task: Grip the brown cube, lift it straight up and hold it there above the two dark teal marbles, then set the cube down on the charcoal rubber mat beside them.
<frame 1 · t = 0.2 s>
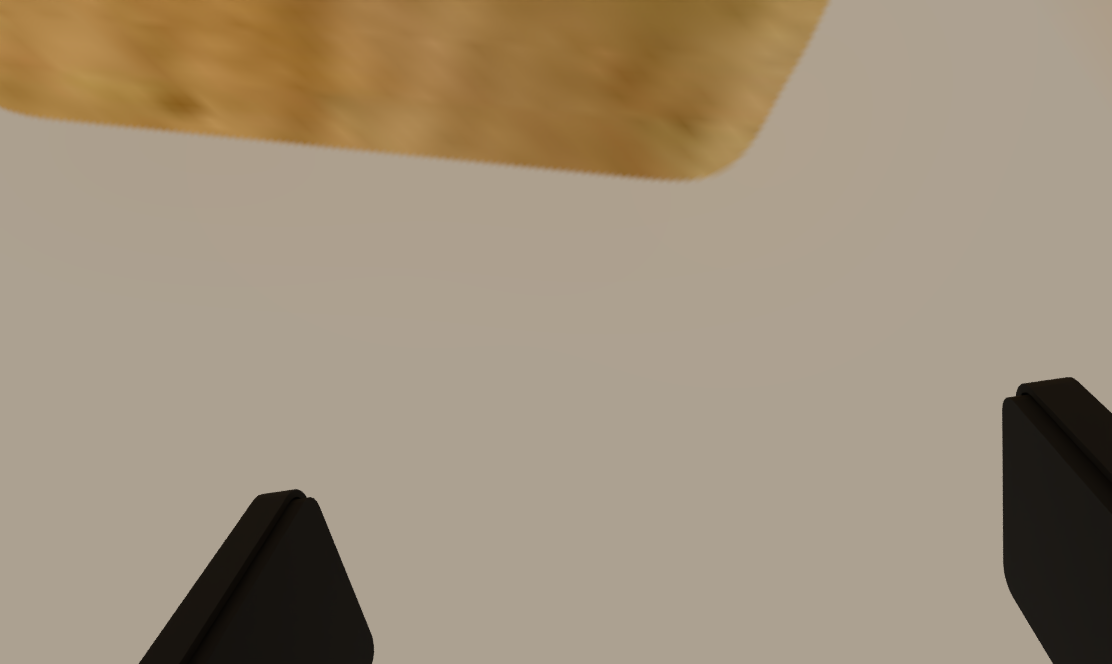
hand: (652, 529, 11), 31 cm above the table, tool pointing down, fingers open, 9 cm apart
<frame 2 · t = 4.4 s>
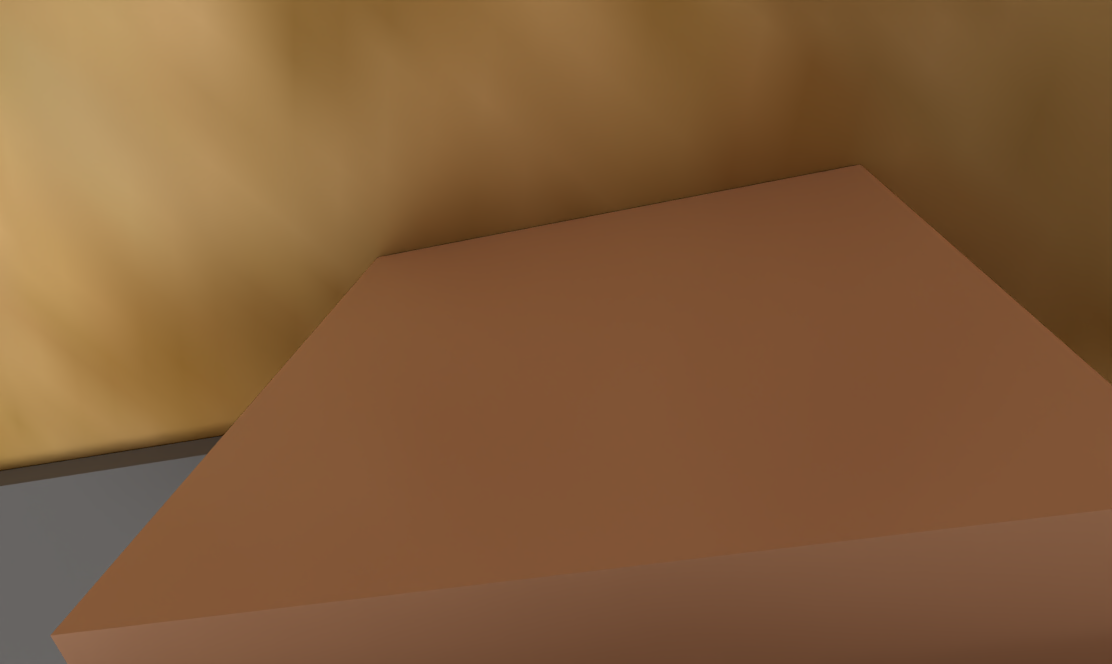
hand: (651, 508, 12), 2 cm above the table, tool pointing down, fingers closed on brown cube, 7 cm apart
brown cube: (649, 422, 14), on the table, touching gripper
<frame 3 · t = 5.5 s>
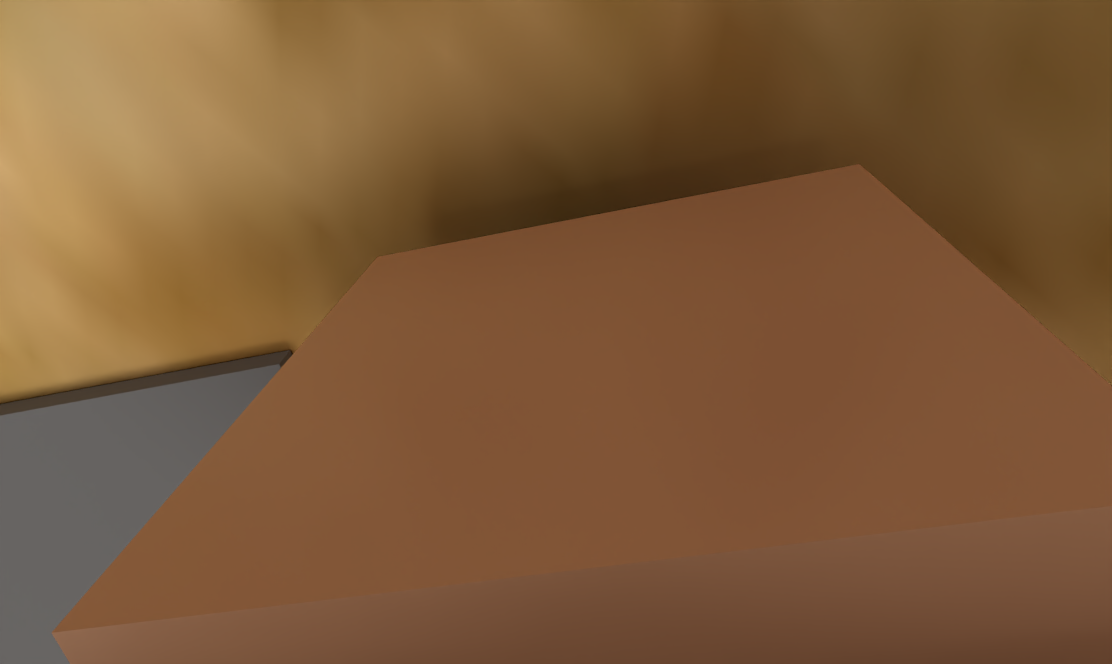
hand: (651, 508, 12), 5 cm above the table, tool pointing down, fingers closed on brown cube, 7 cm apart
brown cube: (649, 421, 14), point 2 cm above the table, touching gripper
charcoal mat: (124, 652, 20), on the table
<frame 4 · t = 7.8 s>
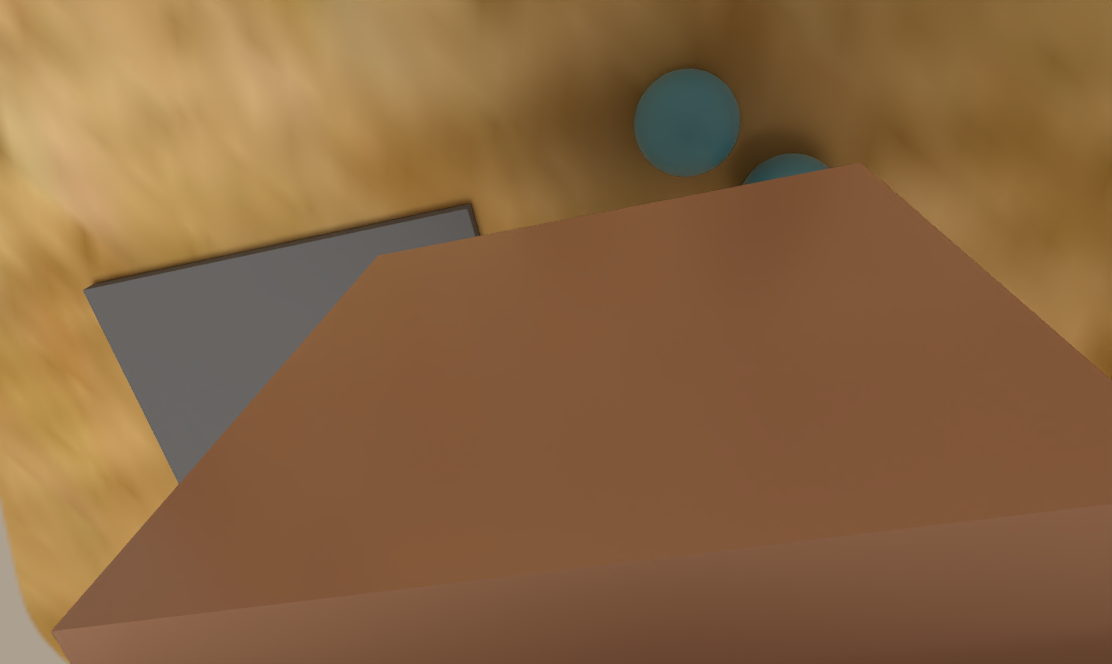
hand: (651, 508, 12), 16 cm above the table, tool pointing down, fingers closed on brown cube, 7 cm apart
brown cube: (649, 420, 14), point 13 cm above the table, touching gripper
teal marble 2: (638, 146, 23), point 2 cm above the table, tilted 98°
charcoal mat: (342, 421, 30), on the table
teal marble 1: (742, 227, 24), point 2 cm above the table, tilted 94°
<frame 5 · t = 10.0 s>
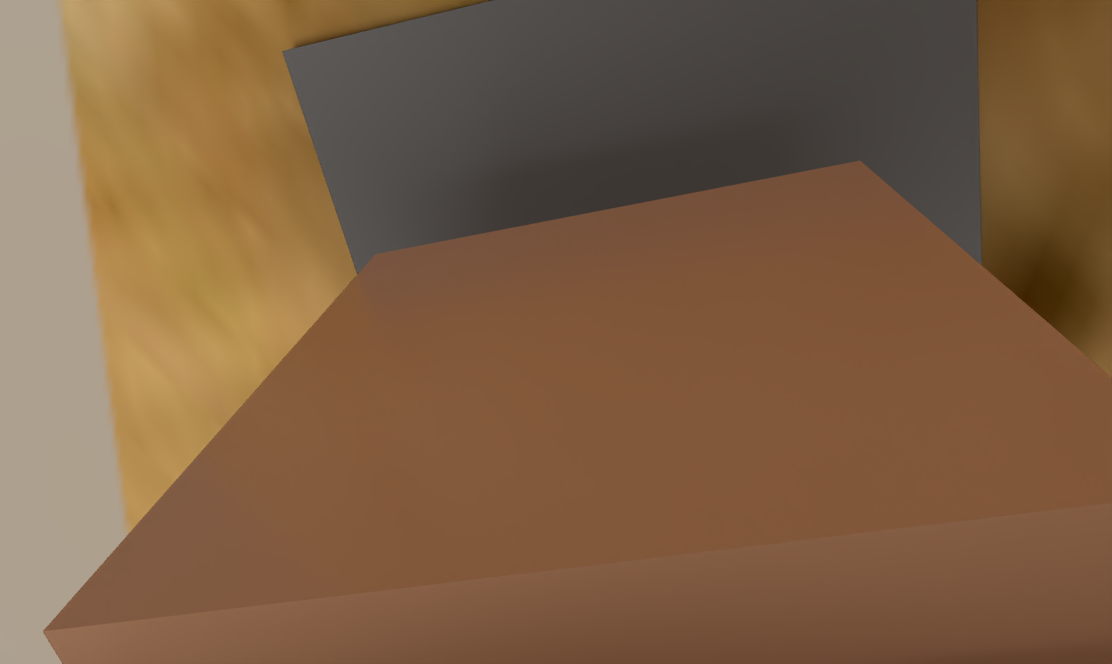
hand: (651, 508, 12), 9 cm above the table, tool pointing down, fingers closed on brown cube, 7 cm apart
brown cube: (648, 420, 14), point 6 cm above the table, touching gripper
charcoal mat: (660, 285, 19), on the table
when the fingers open (4 cm above the table, at t = 11.4 s): brown cube drops 1 cm, resting on charcoal mat.
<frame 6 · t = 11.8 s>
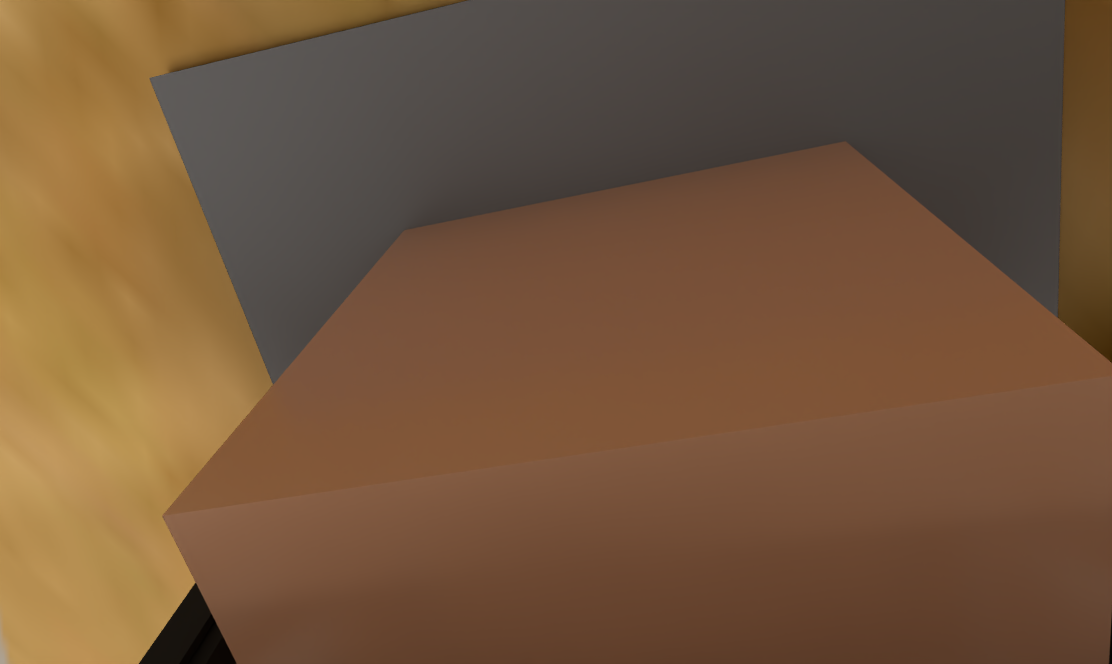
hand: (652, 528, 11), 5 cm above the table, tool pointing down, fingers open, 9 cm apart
brown cube: (653, 382, 15), point 1 cm above the table, touching charcoal mat
charcoal mat: (646, 369, 15), on the table
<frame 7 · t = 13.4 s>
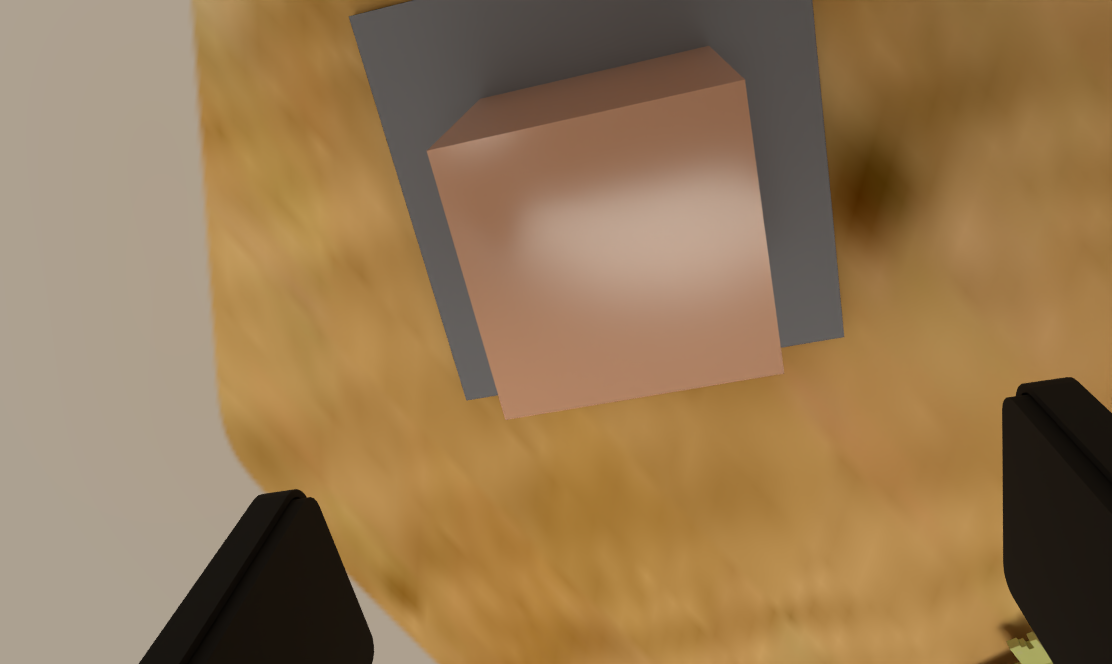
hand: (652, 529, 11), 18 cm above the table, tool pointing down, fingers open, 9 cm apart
brown cube: (615, 185, 27), point 1 cm above the table, touching charcoal mat
charcoal mat: (611, 181, 28), on the table
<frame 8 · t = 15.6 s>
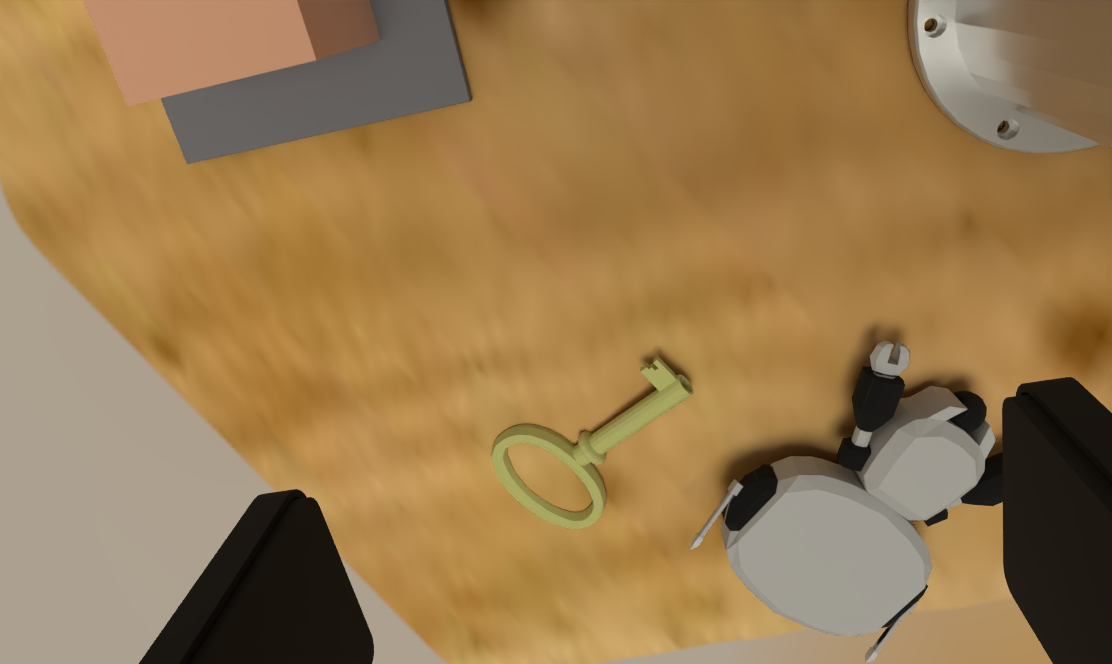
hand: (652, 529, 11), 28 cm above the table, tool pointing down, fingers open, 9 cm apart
key: (591, 435, 44), on the table
robot toy: (854, 473, 44), on the table
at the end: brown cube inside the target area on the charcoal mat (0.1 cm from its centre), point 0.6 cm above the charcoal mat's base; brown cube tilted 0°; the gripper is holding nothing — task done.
